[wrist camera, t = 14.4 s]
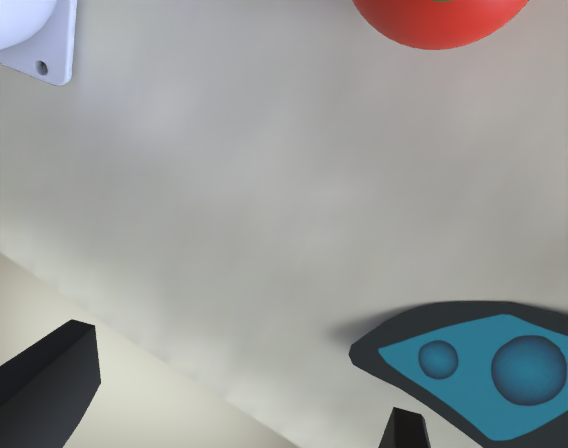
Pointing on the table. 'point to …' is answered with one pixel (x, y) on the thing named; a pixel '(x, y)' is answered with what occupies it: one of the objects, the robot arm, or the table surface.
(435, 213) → the table surface
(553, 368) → the decorative butterfly
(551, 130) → the table surface
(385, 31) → the tomato
